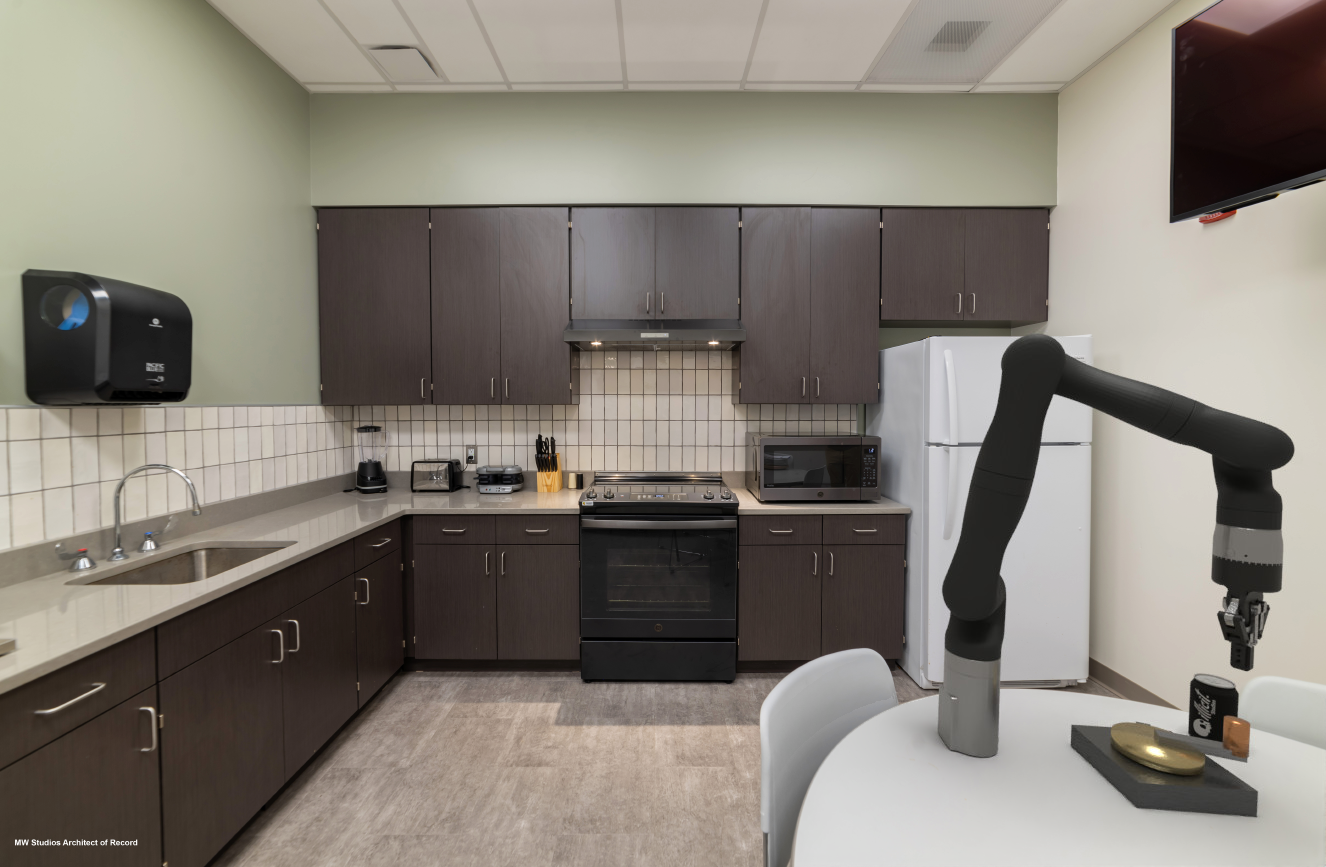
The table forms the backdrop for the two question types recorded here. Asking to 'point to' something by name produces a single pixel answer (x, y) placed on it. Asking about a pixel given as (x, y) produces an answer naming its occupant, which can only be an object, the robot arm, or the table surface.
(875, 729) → the table surface
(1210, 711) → the beverage can
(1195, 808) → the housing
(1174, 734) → the gold plate with handle
